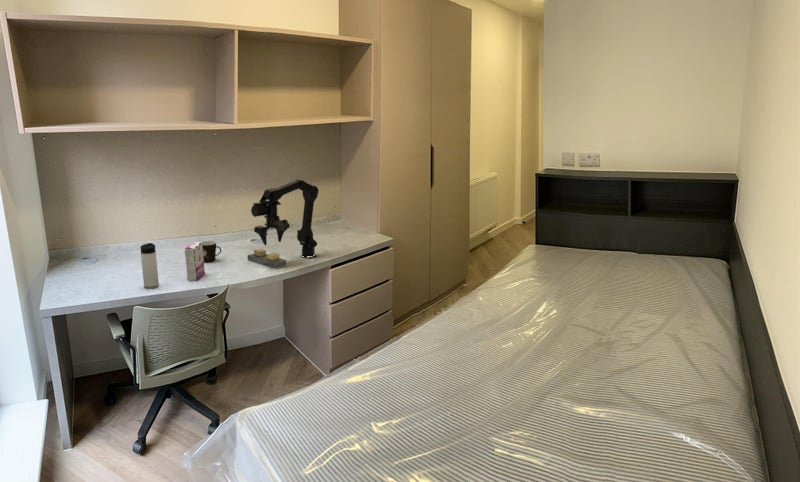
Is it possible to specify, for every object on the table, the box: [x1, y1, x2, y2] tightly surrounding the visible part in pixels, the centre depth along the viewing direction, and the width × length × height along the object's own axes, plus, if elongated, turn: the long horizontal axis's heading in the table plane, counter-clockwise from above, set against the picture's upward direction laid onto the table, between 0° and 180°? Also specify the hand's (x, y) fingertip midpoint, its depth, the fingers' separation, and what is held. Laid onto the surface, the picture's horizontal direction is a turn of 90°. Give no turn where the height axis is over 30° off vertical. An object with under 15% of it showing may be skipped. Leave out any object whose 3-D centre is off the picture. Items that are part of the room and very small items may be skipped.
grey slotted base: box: [247, 252, 287, 270], centre depth 307 cm, size 8×22×3 cm, turn 51°
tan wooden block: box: [266, 252, 280, 262], centre depth 304 cm, size 4×4×6 cm
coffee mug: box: [201, 240, 222, 264], centre depth 306 cm, size 12×9×10 cm
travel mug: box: [139, 242, 160, 290], centre depth 266 cm, size 6×7×20 cm
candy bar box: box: [184, 241, 206, 282], centre depth 281 cm, size 11×5×16 cm, turn 179°
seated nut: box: [253, 248, 267, 257], centre depth 310 cm, size 4×4×6 cm
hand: (272, 243), depth 301 cm, fingers open, 9 cm apart
